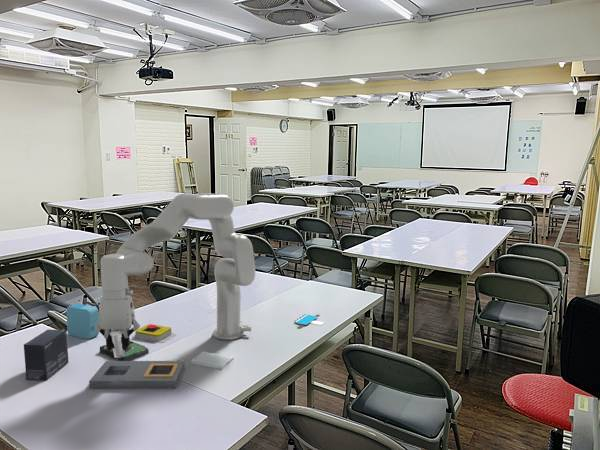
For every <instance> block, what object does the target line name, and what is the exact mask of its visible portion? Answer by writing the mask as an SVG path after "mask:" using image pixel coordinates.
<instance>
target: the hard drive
mask: <svg viewBox="0 0 600 450" xmlns="http://www.w3.org/2000/svg"><path fill="white" fill-rule="evenodd" d="M234 360H235V359H234V357H233V356H226V355H224V354H217V353H212V352H207V351H202V352H201V353H199V354H198V355H196V356H195V357H194V358H192V359H191V360H190V363H191V364H192V365H199V366H204V367H208V368H214V369H219V370H223V369H225V368H226V367H227V366H229V364H231V362H233V361H234Z"/></svg>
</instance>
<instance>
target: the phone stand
mask: <svg viewBox="0 0 600 450" xmlns="http://www.w3.org/2000/svg"><path fill="white" fill-rule="evenodd" d="M301 316H302V317H301ZM301 316H300V317H298V318H299V319H298V318H296V319H297V320H296V319H294V324H296V325H298V326H297V329H301V328H303V327H305V326H306V325H308V324H311V325H315V326H321V327H322V325H324V324H325V322H324V321H323V322H322V321H318V320H315V319H317V318H318V317H319V316H320V314H316V315H313V314H307V313H304V314H303V315H301Z"/></svg>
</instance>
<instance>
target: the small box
mask: <svg viewBox="0 0 600 450" xmlns="http://www.w3.org/2000/svg"><path fill="white" fill-rule="evenodd" d="M67 334H68V332H67V329H46V330H45V331H44V332H42V333H40V334H39V335H37V336H35V337H34V338H32V339H30V340H29V341H27V342H25V343H24V344H23V354H24V355H23V356H24V364H25V365H24V366H25V379H26V381H48V380H49V379H50V378H52V377H53V376H54V375H56V373H58V372H59V371H60V370H61V369H62V368H64V367H65V366H66V365H67V364H69V352H68V351H69V350H68V338H67V337H68V335H67Z"/></svg>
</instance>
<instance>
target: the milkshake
mask: <svg viewBox="0 0 600 450" xmlns="http://www.w3.org/2000/svg"><path fill="white" fill-rule="evenodd" d="M109 334H110V339H111V343H112V347H113V352H114V357H115V358H121V357H124V356H125V350H123V338H124V334H123V330H122V329H112V331H109Z"/></svg>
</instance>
